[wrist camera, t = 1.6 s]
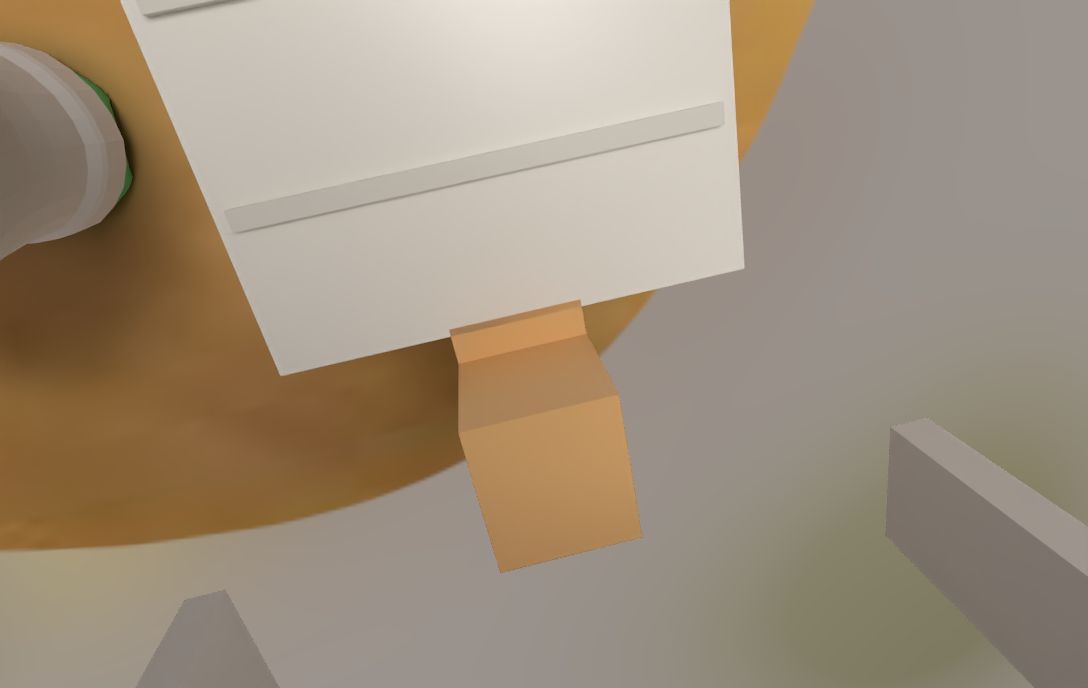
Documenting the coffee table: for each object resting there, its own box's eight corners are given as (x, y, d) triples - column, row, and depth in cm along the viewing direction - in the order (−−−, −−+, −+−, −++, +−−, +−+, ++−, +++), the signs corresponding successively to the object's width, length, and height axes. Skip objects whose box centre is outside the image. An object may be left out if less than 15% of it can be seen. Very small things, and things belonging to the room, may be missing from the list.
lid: (93, -192, 12) (-199, -421, 7) (663, -298, 13) (814, -589, 7) (356, 470, 19) (315, 619, 14) (719, 383, 20) (818, 493, 14)
